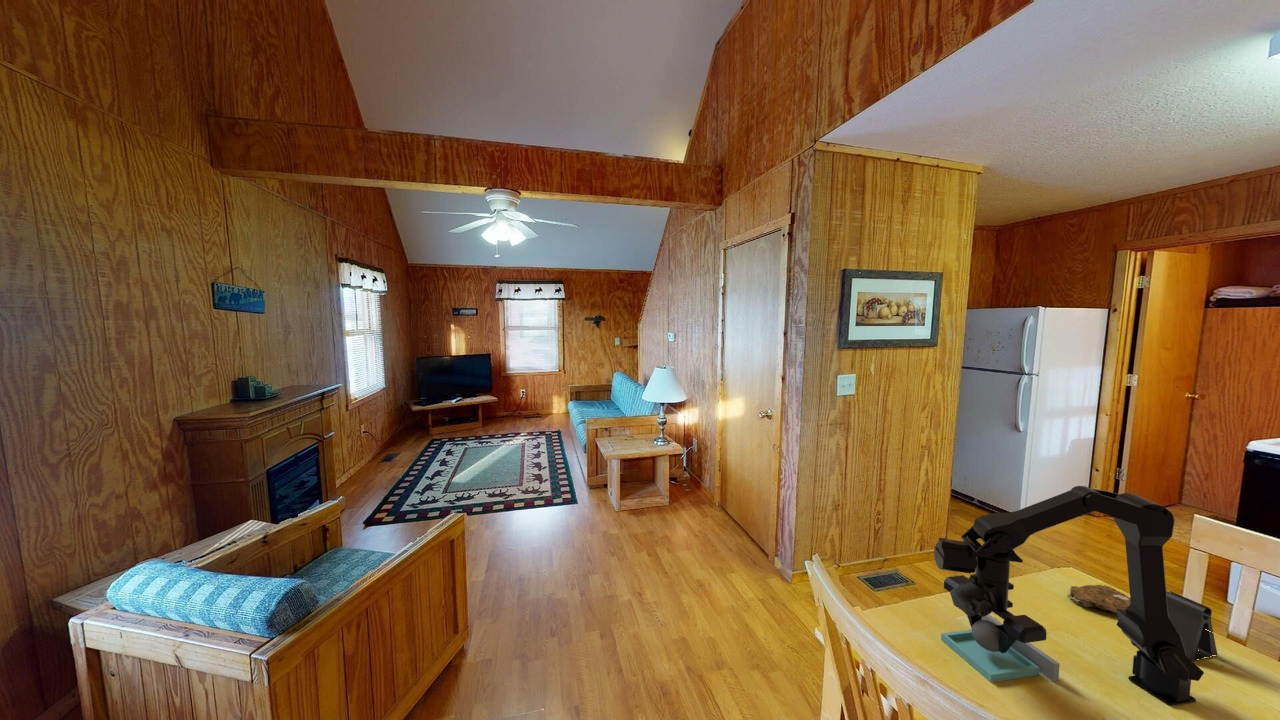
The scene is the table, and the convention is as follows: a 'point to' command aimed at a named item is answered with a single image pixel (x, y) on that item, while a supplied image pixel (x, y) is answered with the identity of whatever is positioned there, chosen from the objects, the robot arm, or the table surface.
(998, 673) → the dish
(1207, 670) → the table surface
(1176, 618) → the phone stand
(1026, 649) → the low wall
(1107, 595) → the decorative rock
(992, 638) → the ball
